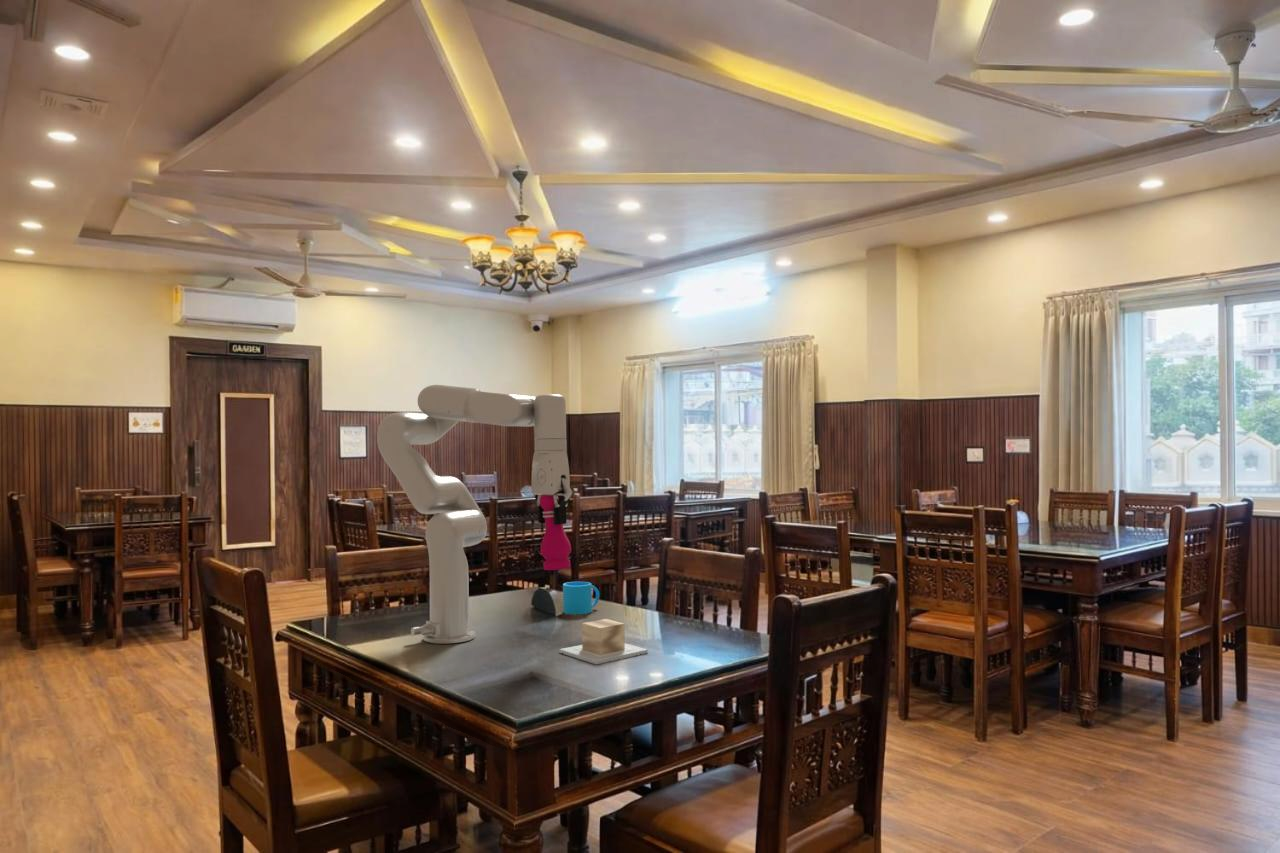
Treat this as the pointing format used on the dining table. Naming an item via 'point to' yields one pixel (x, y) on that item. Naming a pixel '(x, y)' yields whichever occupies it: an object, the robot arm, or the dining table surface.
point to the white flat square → (597, 658)
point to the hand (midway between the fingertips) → (552, 522)
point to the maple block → (603, 636)
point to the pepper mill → (553, 538)
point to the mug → (578, 597)
